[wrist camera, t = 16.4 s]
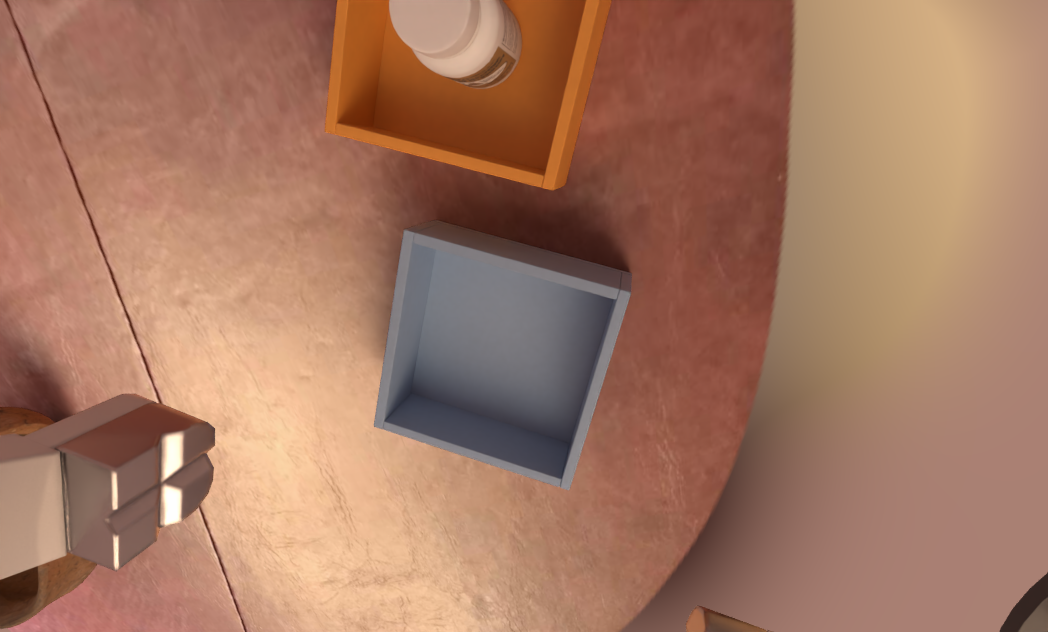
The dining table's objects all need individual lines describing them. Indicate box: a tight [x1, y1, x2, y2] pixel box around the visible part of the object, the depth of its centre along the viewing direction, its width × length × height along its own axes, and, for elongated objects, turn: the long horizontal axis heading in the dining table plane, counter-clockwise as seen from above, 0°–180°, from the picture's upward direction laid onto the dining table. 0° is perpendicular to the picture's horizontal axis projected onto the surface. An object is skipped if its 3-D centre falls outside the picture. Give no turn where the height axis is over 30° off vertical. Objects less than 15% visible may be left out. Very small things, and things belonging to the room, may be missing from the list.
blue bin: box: [374, 220, 632, 490], centre depth 31 cm, size 12×12×5 cm
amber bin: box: [325, 0, 612, 190], centre depth 26 cm, size 12×12×5 cm
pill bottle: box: [389, 0, 522, 89], centre depth 24 cm, size 4×4×8 cm
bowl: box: [0, 407, 97, 629], centre depth 41 cm, size 18×14×10 cm
